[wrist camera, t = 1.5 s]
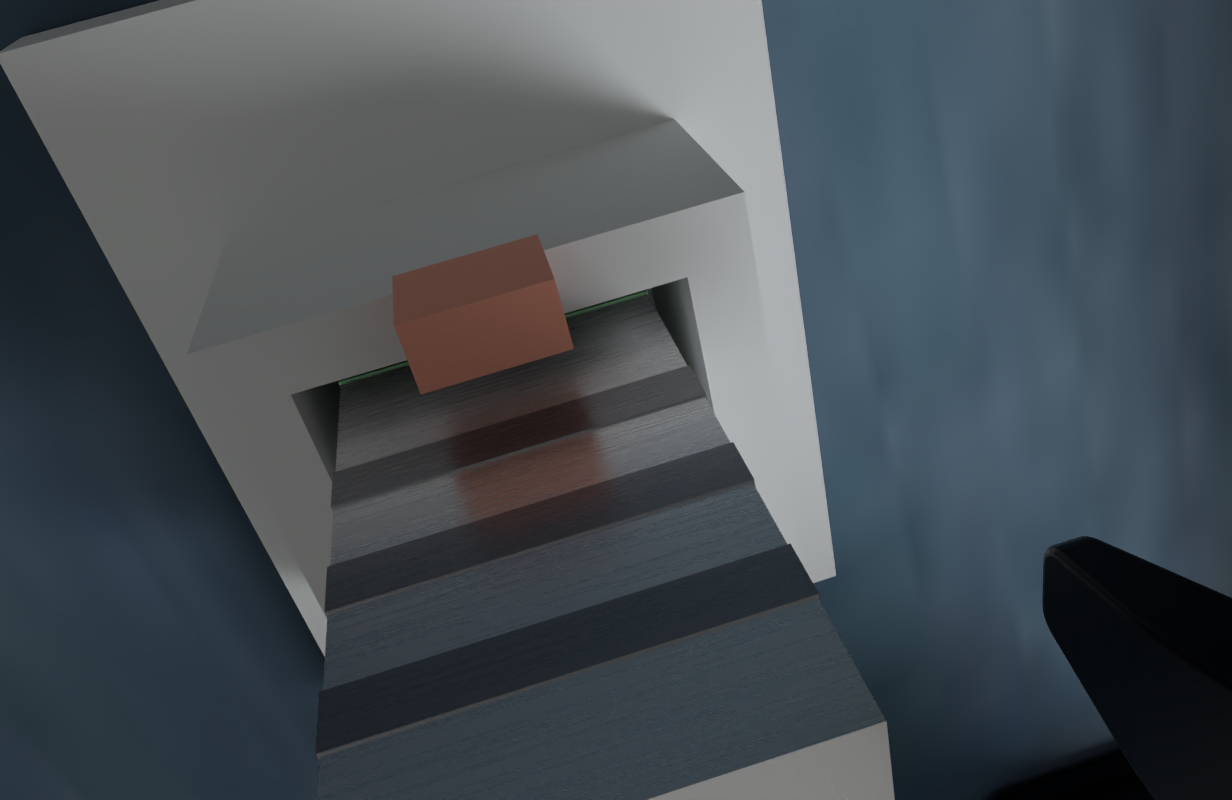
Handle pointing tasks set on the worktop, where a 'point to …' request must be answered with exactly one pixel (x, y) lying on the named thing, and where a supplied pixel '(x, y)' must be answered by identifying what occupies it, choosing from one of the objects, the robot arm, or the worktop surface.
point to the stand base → (431, 215)
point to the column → (574, 595)
